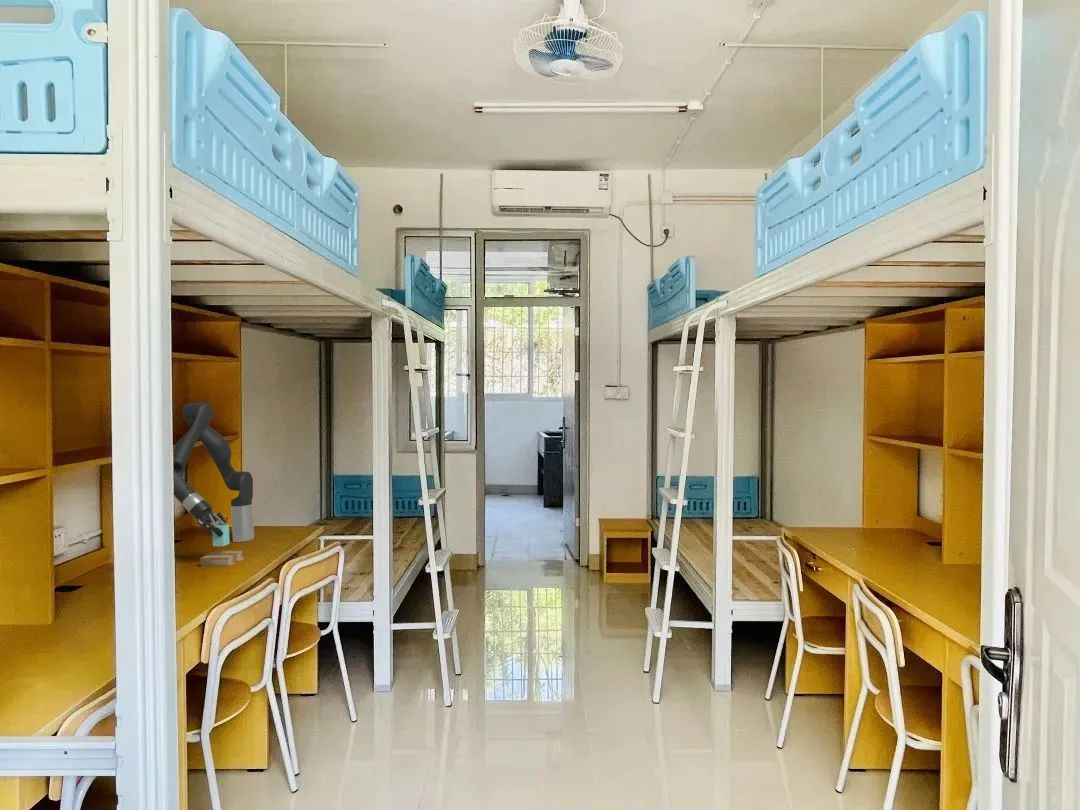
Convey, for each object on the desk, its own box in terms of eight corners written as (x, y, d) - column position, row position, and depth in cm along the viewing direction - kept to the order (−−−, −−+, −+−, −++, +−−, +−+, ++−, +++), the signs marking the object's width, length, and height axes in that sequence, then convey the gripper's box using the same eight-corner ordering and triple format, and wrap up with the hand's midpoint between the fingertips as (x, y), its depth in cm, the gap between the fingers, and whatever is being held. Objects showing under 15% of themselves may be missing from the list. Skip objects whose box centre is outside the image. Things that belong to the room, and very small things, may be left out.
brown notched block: (217, 559, 286) (217, 550, 286) (243, 559, 285) (243, 550, 285) (200, 567, 274) (200, 558, 274) (227, 567, 273) (227, 558, 273)
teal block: (219, 543, 282) (218, 524, 282) (229, 543, 281) (228, 524, 281) (212, 546, 277) (212, 527, 277) (223, 546, 277) (222, 527, 276)
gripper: (192, 502, 272) (221, 531, 271) (212, 496, 287) (240, 524, 286) (180, 515, 273) (209, 544, 272) (201, 509, 287) (229, 536, 286)
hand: (225, 533), depth 279 cm, fingers closed on teal block, 4 cm apart
